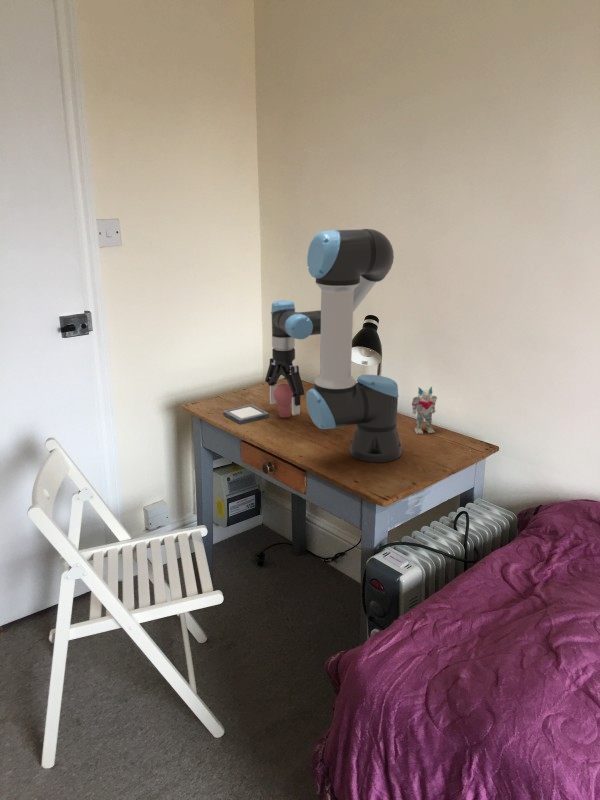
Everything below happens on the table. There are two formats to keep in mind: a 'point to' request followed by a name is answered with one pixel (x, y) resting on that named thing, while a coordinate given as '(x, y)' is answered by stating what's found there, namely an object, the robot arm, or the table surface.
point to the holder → (246, 414)
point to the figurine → (424, 409)
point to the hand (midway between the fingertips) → (284, 408)
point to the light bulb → (283, 399)
